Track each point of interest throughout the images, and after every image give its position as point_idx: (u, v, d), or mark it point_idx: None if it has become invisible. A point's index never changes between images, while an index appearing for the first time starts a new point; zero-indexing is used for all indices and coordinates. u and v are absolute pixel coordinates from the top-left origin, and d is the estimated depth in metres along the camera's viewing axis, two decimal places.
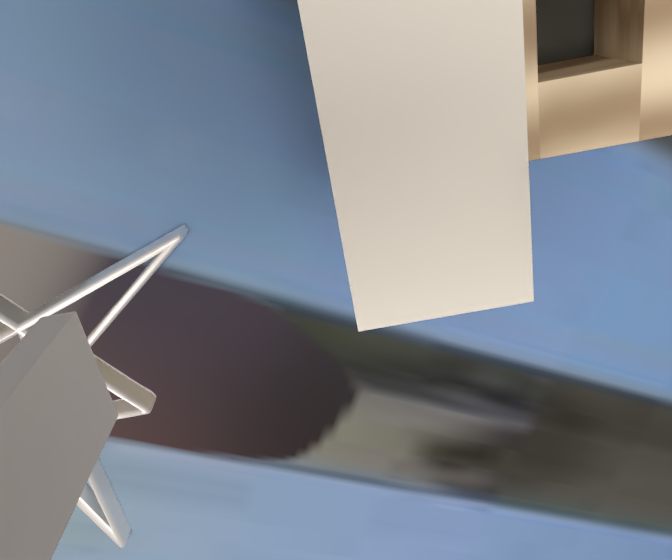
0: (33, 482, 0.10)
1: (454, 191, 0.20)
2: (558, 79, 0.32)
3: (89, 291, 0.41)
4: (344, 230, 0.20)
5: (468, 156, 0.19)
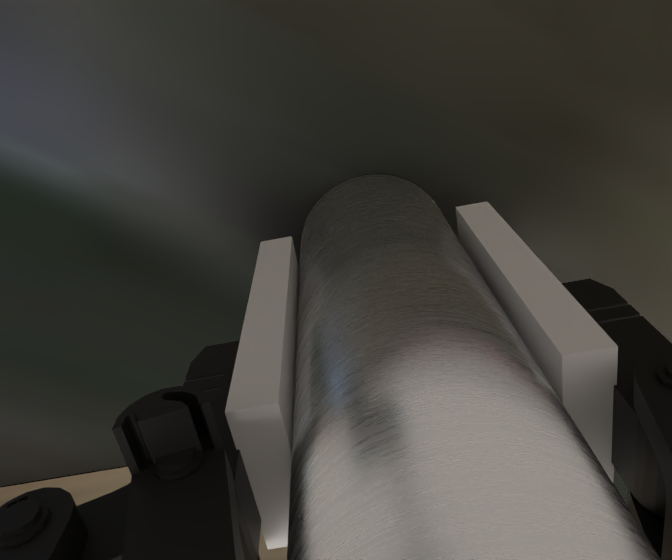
0: None
1: None
2: None
3: None
4: None
5: None
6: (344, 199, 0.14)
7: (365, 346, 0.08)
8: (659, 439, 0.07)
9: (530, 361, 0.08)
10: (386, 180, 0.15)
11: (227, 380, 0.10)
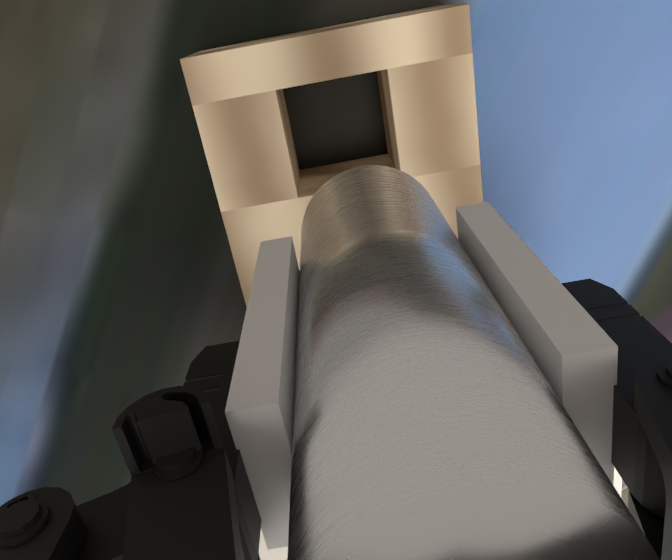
0: None
1: None
2: (399, 158, 0.31)
3: None
4: None
5: None
6: (342, 187, 0.15)
7: (360, 310, 0.09)
8: (659, 439, 0.07)
9: (507, 324, 0.09)
10: (382, 170, 0.16)
11: (227, 380, 0.10)
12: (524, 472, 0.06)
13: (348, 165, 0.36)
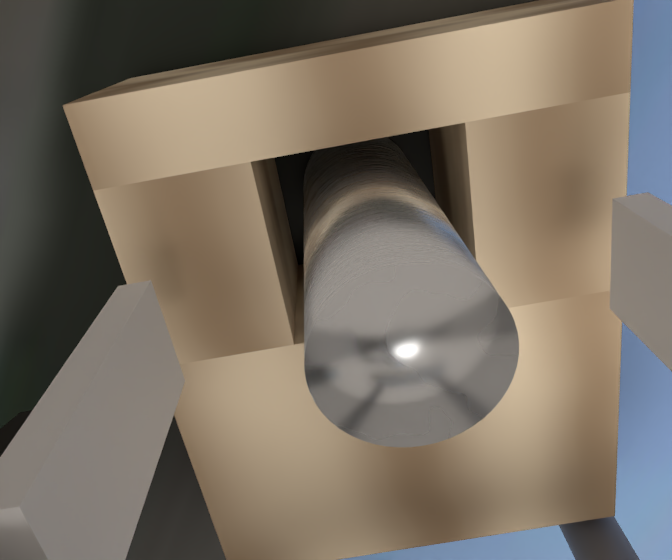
0: (129, 431, 0.11)
1: None
2: None
3: None
4: None
5: None
6: None
7: (347, 206, 0.14)
8: None
9: (443, 216, 0.14)
10: None
11: None
12: (434, 259, 0.10)
13: None
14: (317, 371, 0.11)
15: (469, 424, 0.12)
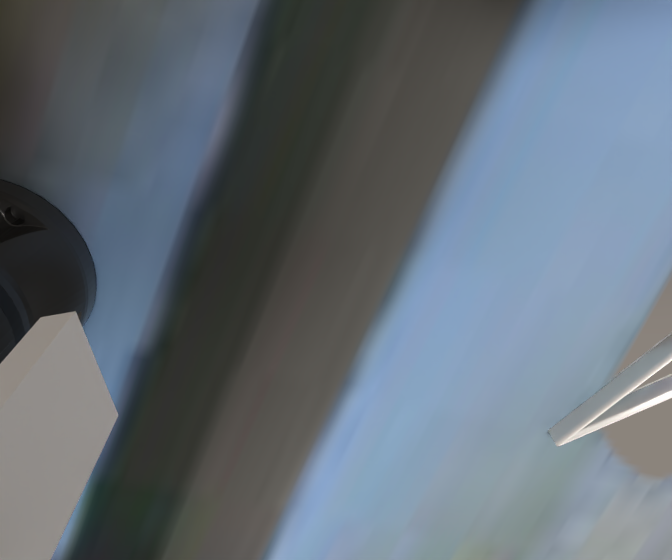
0: (33, 482, 0.10)
1: None
2: None
3: None
4: None
5: None
6: None
7: None
8: None
9: None
10: None
11: None
12: None
13: None
14: None
15: None
